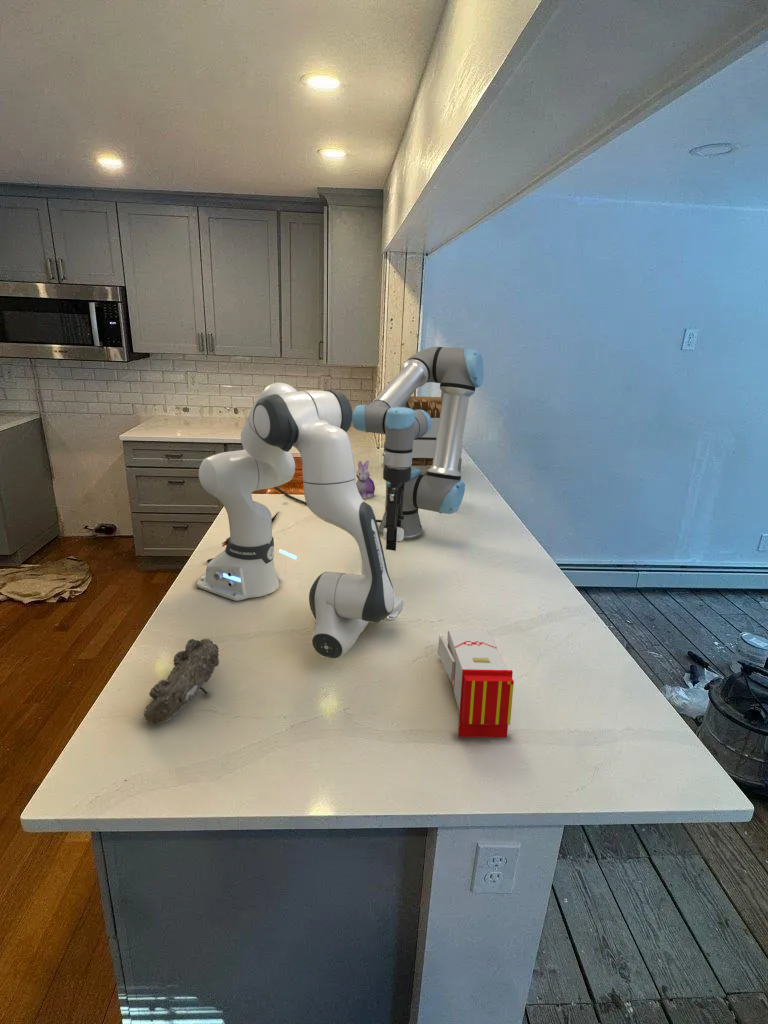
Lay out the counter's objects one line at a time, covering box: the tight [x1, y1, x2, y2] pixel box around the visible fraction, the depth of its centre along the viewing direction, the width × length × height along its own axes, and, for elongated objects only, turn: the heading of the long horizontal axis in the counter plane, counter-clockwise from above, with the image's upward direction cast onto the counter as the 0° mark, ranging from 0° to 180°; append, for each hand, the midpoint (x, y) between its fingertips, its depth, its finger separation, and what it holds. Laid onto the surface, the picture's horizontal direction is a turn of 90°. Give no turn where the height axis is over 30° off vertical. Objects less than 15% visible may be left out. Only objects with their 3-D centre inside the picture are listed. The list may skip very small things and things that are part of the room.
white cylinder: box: [382, 527, 404, 543], centre depth 159 cm, size 6×6×2 cm
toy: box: [437, 628, 515, 738], centre depth 117 cm, size 12×13×30 cm
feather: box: [272, 512, 279, 524], centre depth 212 cm, size 2×28×2 cm
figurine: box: [355, 460, 376, 500], centre depth 236 cm, size 9×10×15 cm
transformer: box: [383, 391, 464, 475], centre depth 268 cm, size 34×33×41 cm
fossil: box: [144, 638, 220, 724], centre depth 113 cm, size 22×10×15 cm
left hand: (372, 587), depth 148 cm, fingers closed on jar, 5 cm apart
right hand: (392, 545), depth 160 cm, fingers closed on white cylinder, 6 cm apart
